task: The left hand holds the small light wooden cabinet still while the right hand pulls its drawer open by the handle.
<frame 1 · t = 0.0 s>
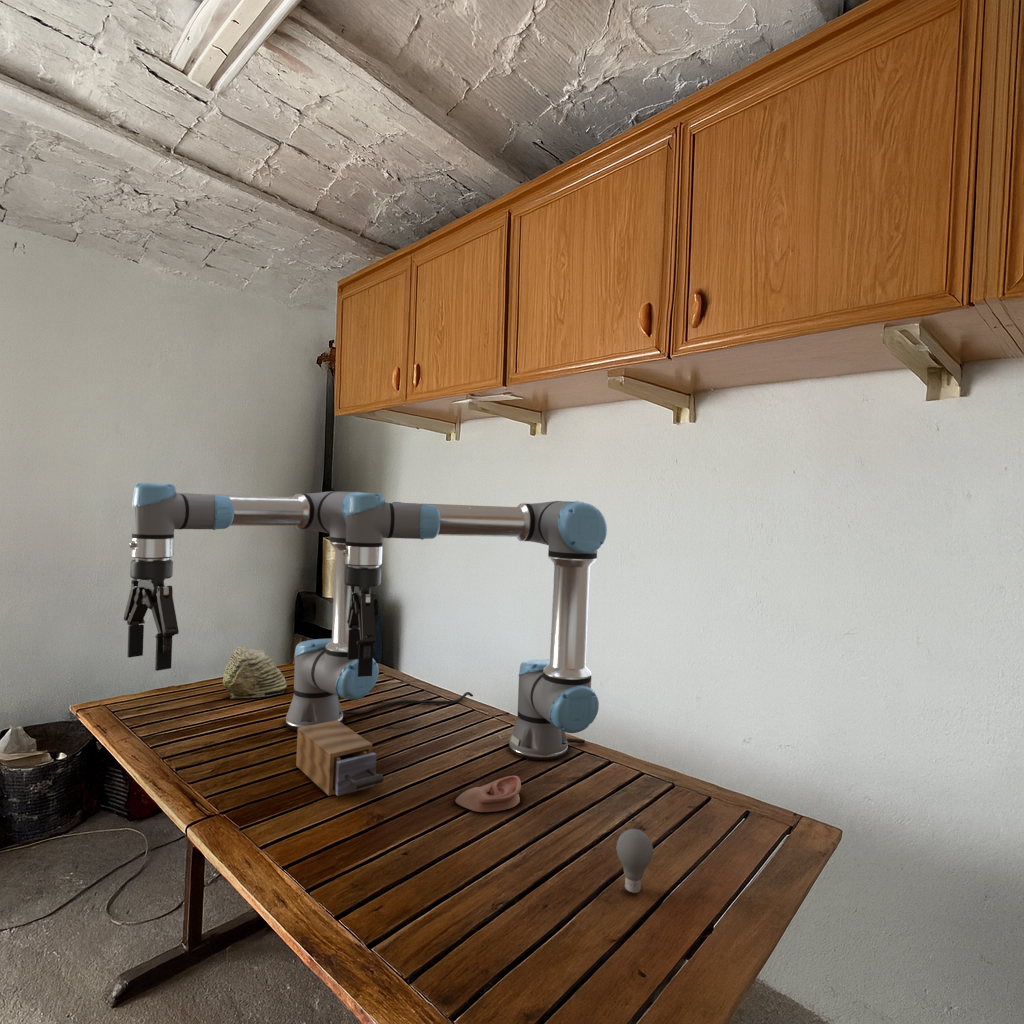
left hand: (148, 662, 129), 28 cm above the table, tool pointing down, fingers open, 13 cm apart
right hand: (359, 667, 133), 28 cm above the table, tool pointing down, fingers open, 13 cm apart
anatomical model: (488, 801, 135), on the table
cabinet: (332, 774, 144), on the table
drawer: (346, 765, 139), point 4 cm above the table, slide at 1.9 cm
fossil: (254, 694, 198), on the table
light bulb: (632, 891, 106), on the table
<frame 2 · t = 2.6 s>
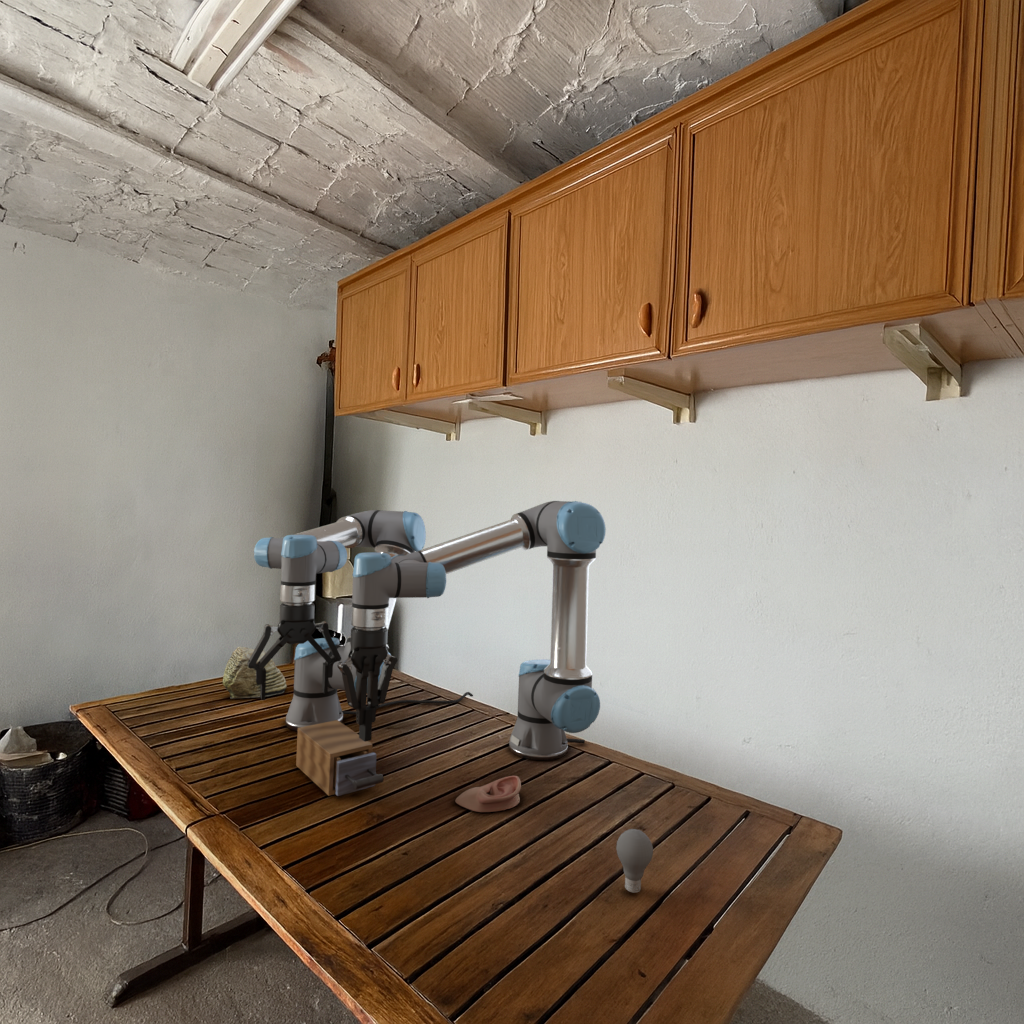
left hand: (294, 695, 145), 18 cm above the table, tool pointing down, fingers open, 13 cm apart
right hand: (365, 738, 133), 13 cm above the table, tool pointing down, fingers closed
nothing on the table moved.
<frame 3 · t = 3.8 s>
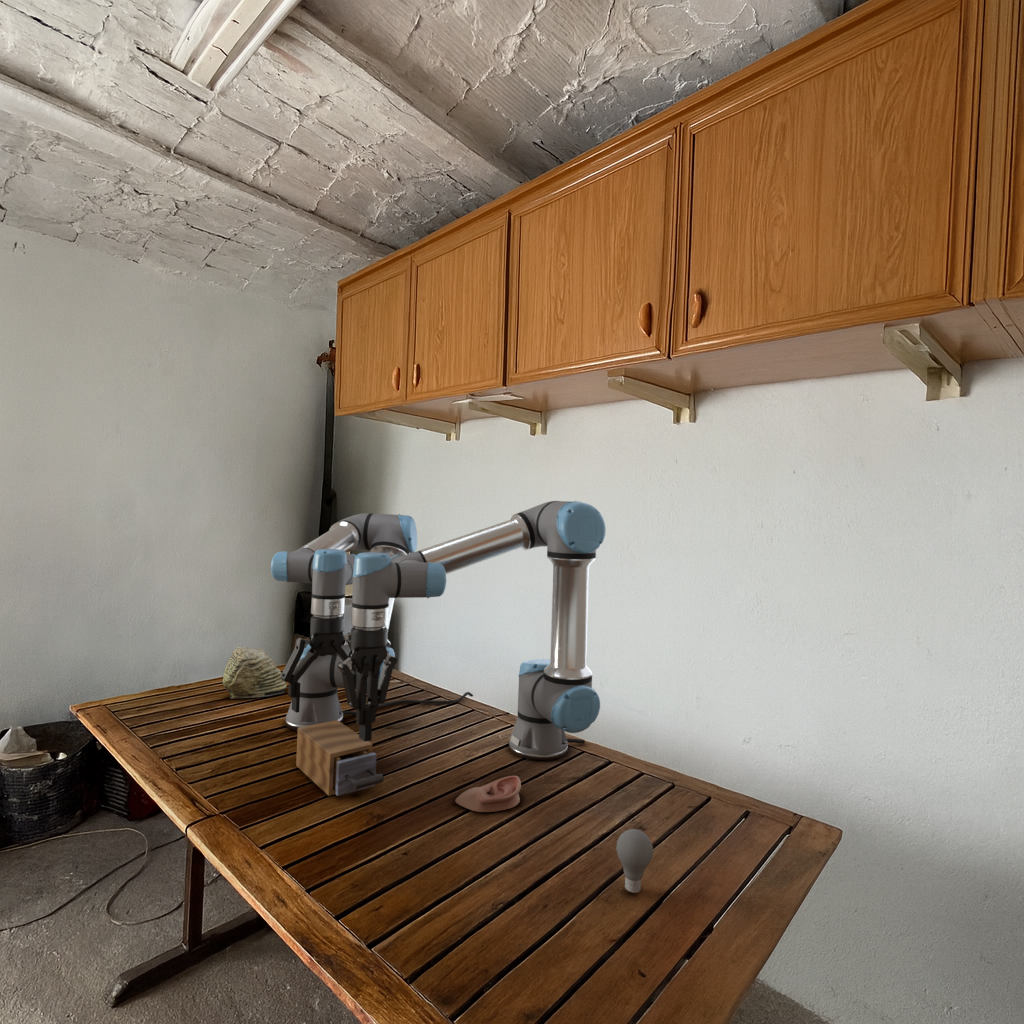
left hand: (323, 705, 149), 14 cm above the table, tool pointing down, fingers open, 13 cm apart
right hand: (365, 738, 133), 13 cm above the table, tool pointing down, fingers closed
nothing on the table moved.
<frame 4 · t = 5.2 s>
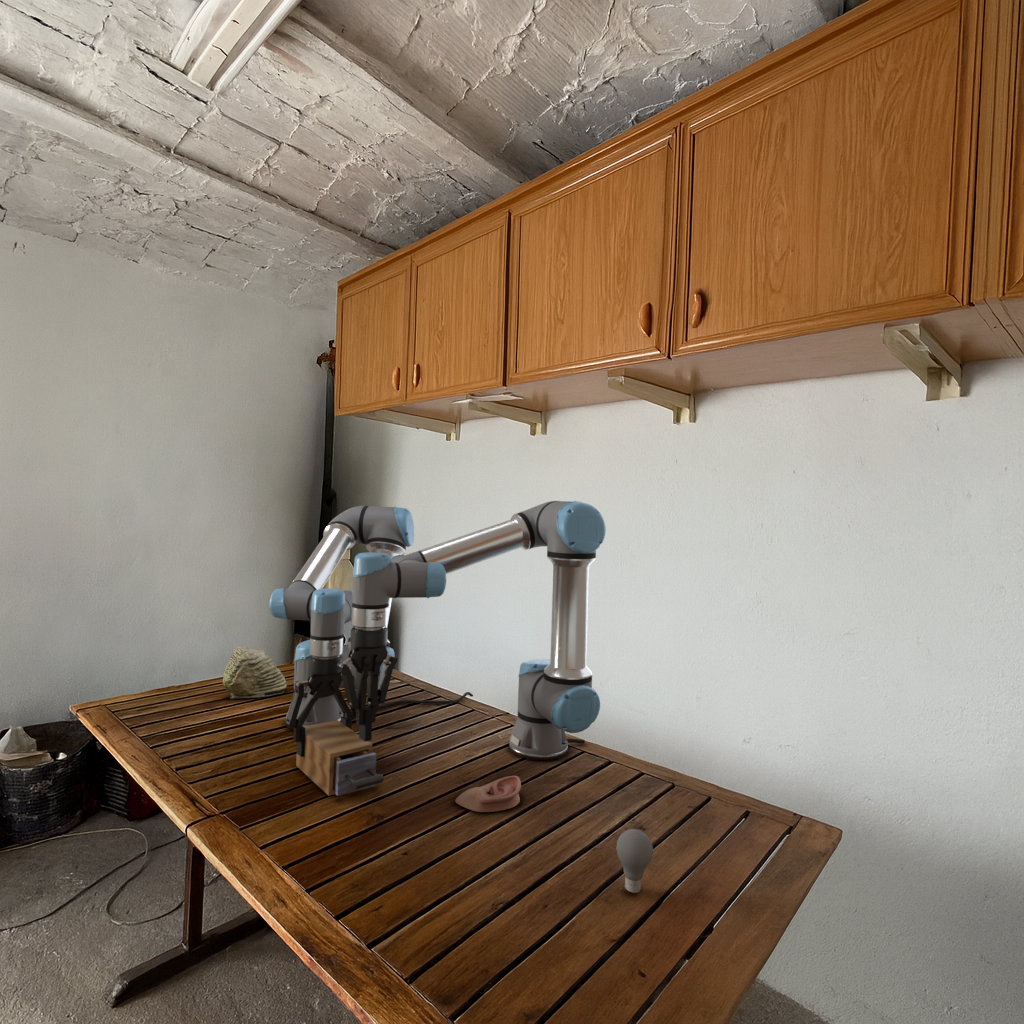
left hand: (322, 749, 149), 4 cm above the table, tool pointing down, fingers closed on cabinet, 10 cm apart
right hand: (365, 738, 133), 13 cm above the table, tool pointing down, fingers closed
cabinet: (332, 774, 144), on the table, touching left hand
everything else where it was.
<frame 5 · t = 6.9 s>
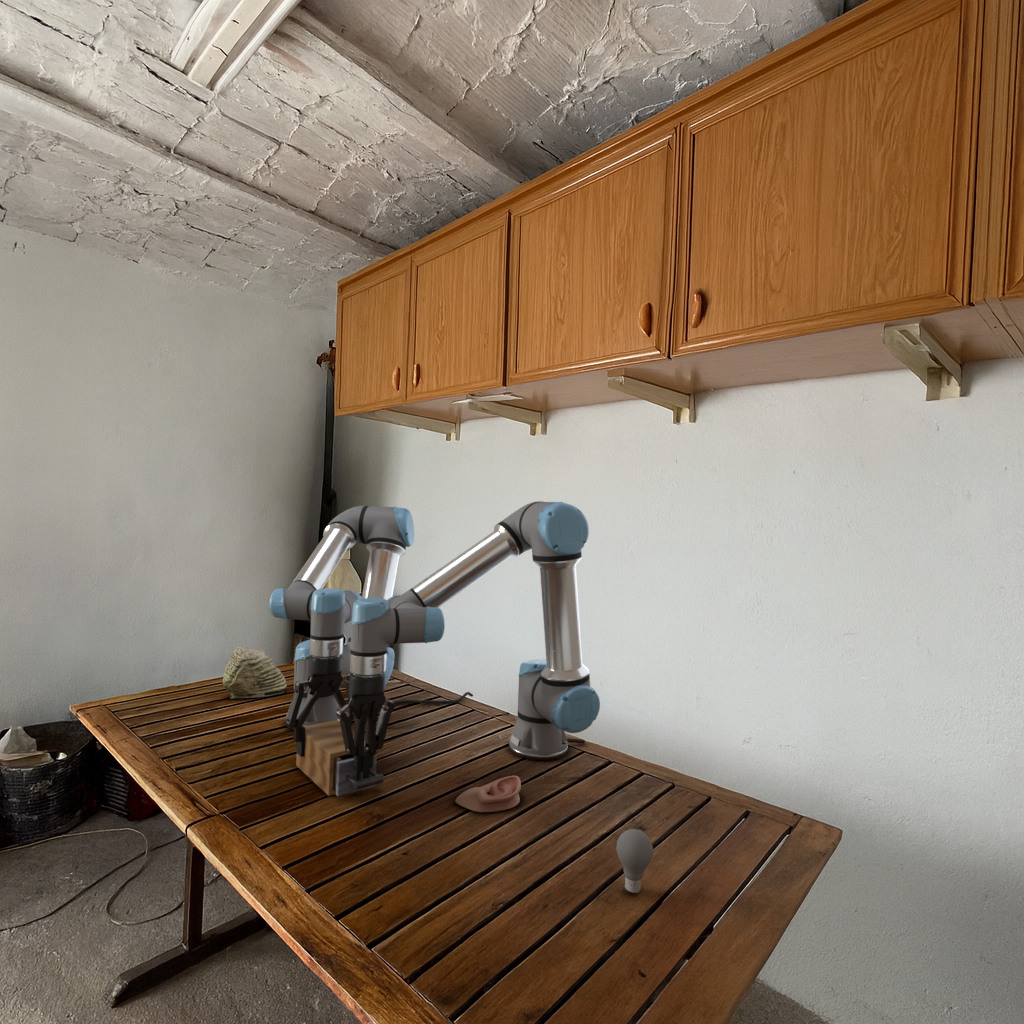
left hand: (322, 749, 149), 4 cm above the table, tool pointing down, fingers closed on cabinet, 10 cm apart
right hand: (362, 784, 133), 3 cm above the table, tool pointing down, fingers closed
cabinet: (332, 774, 144), on the table, touching left hand
drawer: (346, 765, 139), point 4 cm above the table, slide at 2.1 cm, touching right hand
everything else where it was.
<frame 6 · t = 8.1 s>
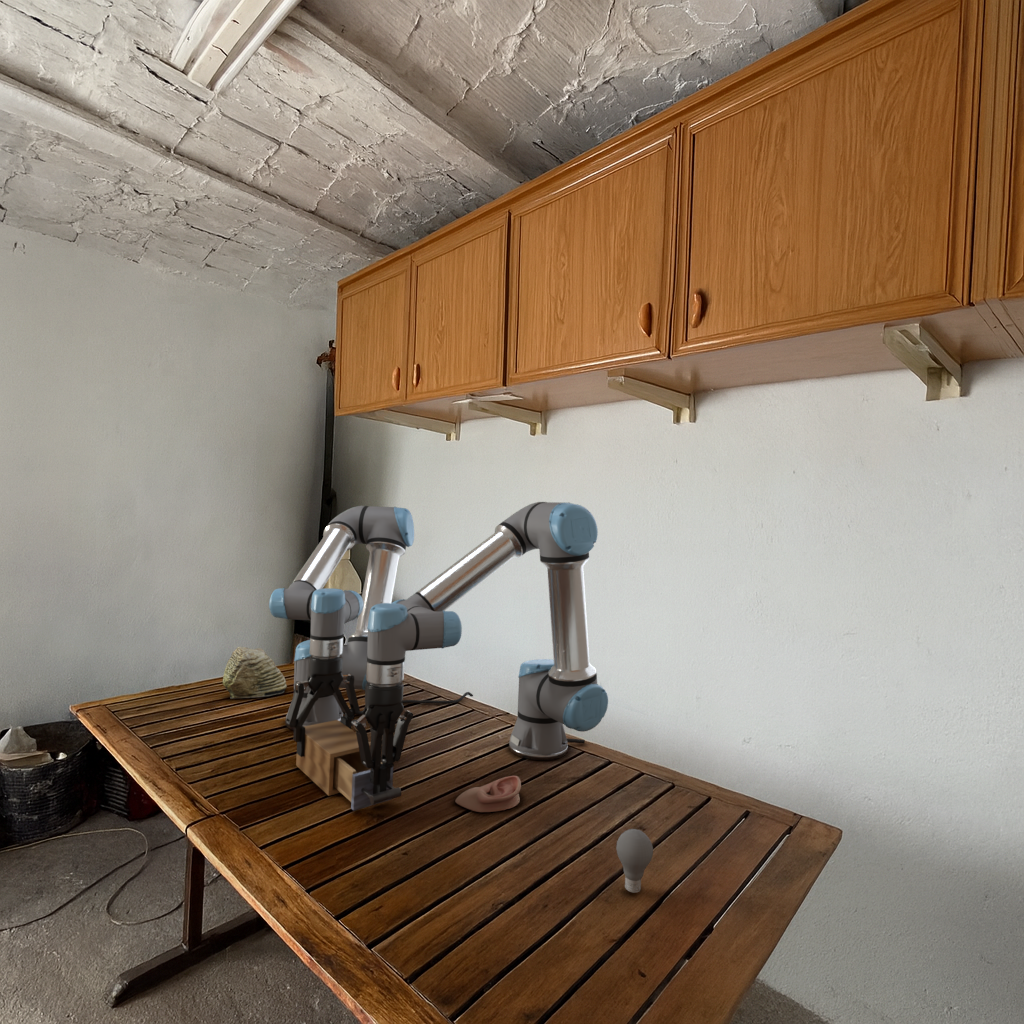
left hand: (322, 749, 149), 4 cm above the table, tool pointing down, fingers closed on cabinet, 10 cm apart
right hand: (379, 798, 127), 3 cm above the table, tool pointing down, fingers closed
cabinet: (332, 774, 144), on the table, touching left hand
drawer: (361, 777, 134), point 4 cm above the table, slide at 9.3 cm, touching right hand
everything else where it was.
when the left hand's fingers open (4 cm above the table, at t = 9.8 s): cabinet stays where it is, on the table.
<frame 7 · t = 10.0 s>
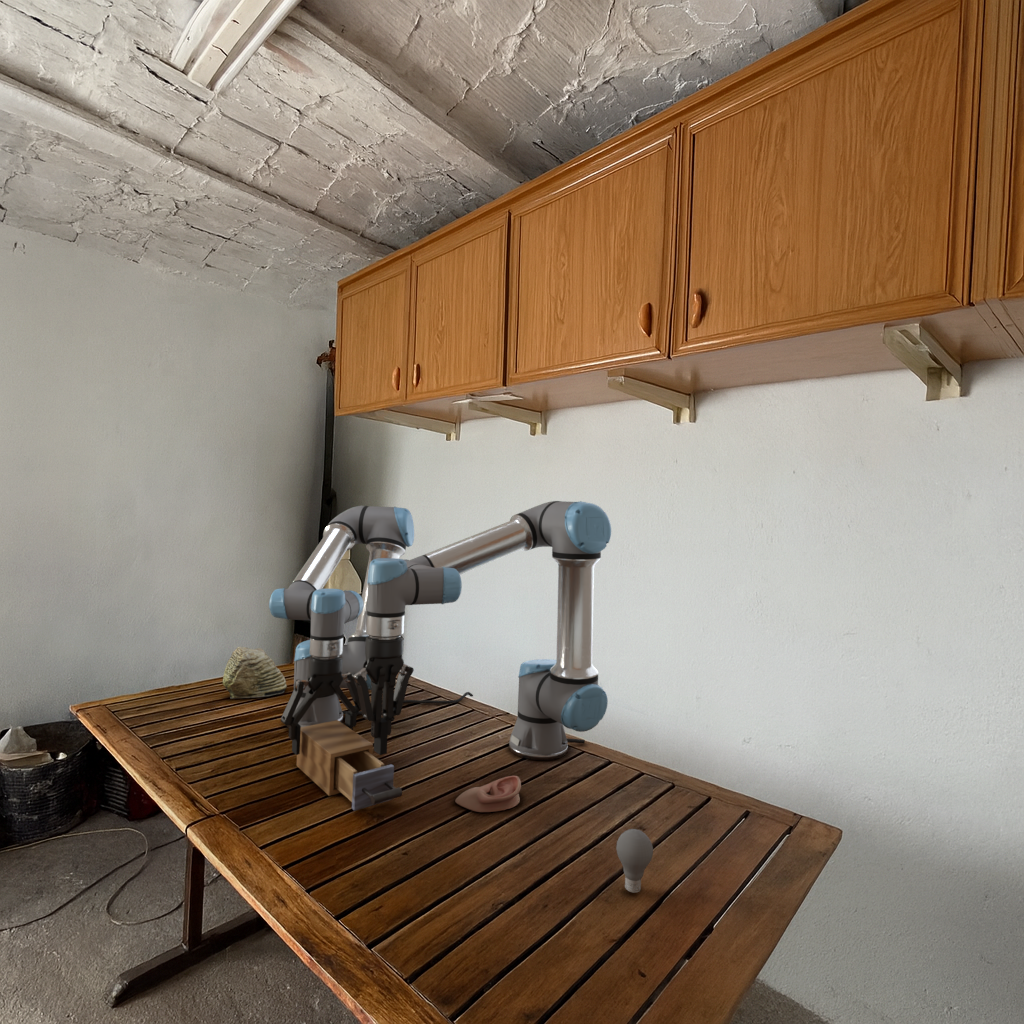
left hand: (322, 746, 149), 5 cm above the table, tool pointing down, fingers open, 12 cm apart
right hand: (380, 752, 128), 13 cm above the table, tool pointing down, fingers closed
cabinet: (332, 774, 144), on the table
drawer: (362, 777, 134), point 4 cm above the table, slide at 9.4 cm
everything else where it was.
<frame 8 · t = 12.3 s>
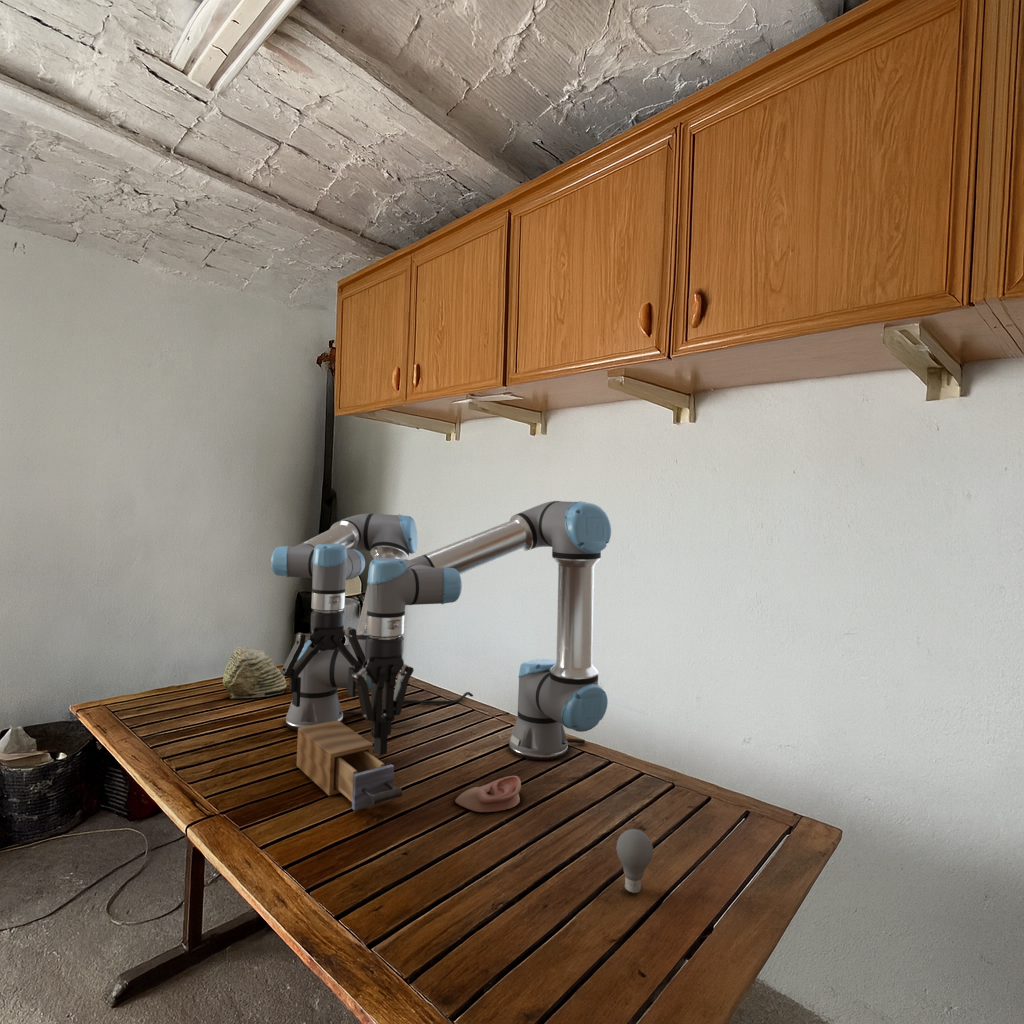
left hand: (324, 700, 149), 15 cm above the table, tool pointing down, fingers open, 13 cm apart
right hand: (380, 752, 128), 13 cm above the table, tool pointing down, fingers closed
nothing on the table moved.
at the end: drawer slide at 9.4 cm; cabinet tilted 0°; cabinet never tilted more than 1° during the clip; cabinet moved 0.1 cm from its start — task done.
